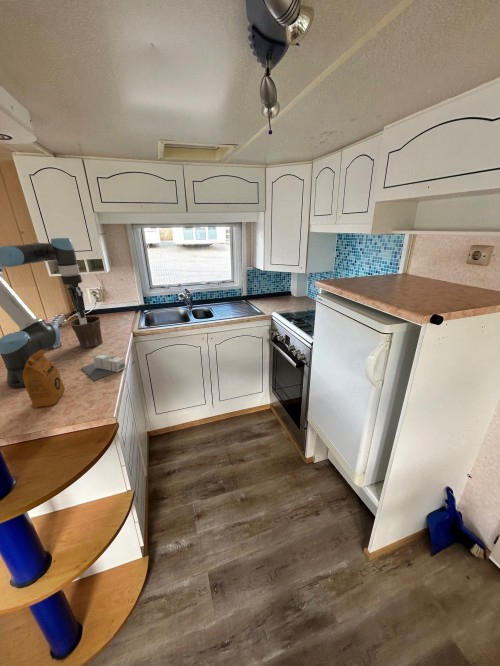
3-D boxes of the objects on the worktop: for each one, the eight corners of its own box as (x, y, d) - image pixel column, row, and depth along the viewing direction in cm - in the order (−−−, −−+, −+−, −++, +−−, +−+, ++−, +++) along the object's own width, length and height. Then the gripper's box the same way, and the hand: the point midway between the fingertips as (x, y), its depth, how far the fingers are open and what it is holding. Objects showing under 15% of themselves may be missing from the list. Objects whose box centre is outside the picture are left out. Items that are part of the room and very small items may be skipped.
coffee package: (70, 390, 122) (55, 346, 114) (55, 407, 111) (38, 360, 103) (46, 392, 121) (30, 348, 113) (29, 409, 110) (10, 362, 101)
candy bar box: (62, 346, 167) (54, 321, 160) (53, 349, 163) (45, 324, 156) (52, 343, 171) (44, 318, 165) (43, 346, 167) (35, 321, 161)
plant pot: (90, 351, 159) (83, 326, 153) (70, 348, 164) (63, 323, 158) (111, 340, 173) (106, 317, 167) (92, 337, 178) (86, 314, 172)
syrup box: (93, 367, 138) (118, 372, 135) (93, 357, 136) (117, 362, 133) (102, 363, 143) (125, 368, 140) (101, 353, 142) (125, 358, 138)
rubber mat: (94, 381, 129) (94, 380, 129) (81, 368, 140) (81, 367, 140) (115, 372, 136) (115, 371, 135) (101, 361, 147) (101, 360, 147)
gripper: (84, 275, 118) (97, 324, 128) (75, 271, 127) (87, 318, 136) (65, 277, 113) (79, 329, 123) (56, 274, 122) (70, 322, 131)
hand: (83, 323), depth 129 cm, fingers closed
